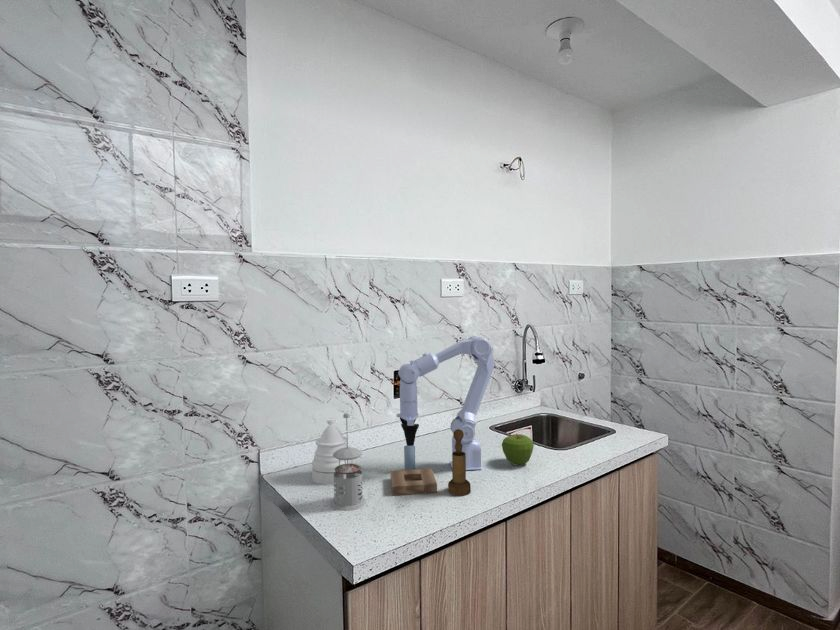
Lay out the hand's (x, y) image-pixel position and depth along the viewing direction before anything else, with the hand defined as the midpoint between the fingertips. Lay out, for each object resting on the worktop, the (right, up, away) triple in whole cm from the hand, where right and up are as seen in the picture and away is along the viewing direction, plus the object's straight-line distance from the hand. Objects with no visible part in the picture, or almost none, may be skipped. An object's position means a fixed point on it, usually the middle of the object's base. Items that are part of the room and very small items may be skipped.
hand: (409, 441), depth 142 cm
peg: (0, -10, 0) cm, 10 cm away
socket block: (+1, -10, -12) cm, 15 cm away
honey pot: (-25, -10, -3) cm, 27 cm away
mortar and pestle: (+15, -10, -16) cm, 24 cm away
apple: (+37, -9, +5) cm, 38 cm away
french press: (-17, -11, -22) cm, 29 cm away
